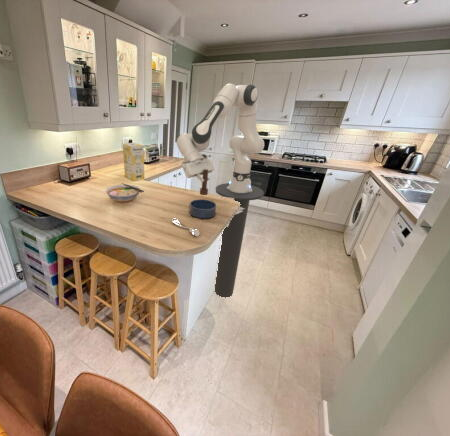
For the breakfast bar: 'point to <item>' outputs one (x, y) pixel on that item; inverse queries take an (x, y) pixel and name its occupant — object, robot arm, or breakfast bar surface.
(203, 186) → the muddler
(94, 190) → the breakfast bar surface
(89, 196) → the breakfast bar surface
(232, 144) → the robot arm
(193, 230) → the silver metal spoon
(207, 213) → the mixing bowl
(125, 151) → the pasta box
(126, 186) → the ramen bowl
